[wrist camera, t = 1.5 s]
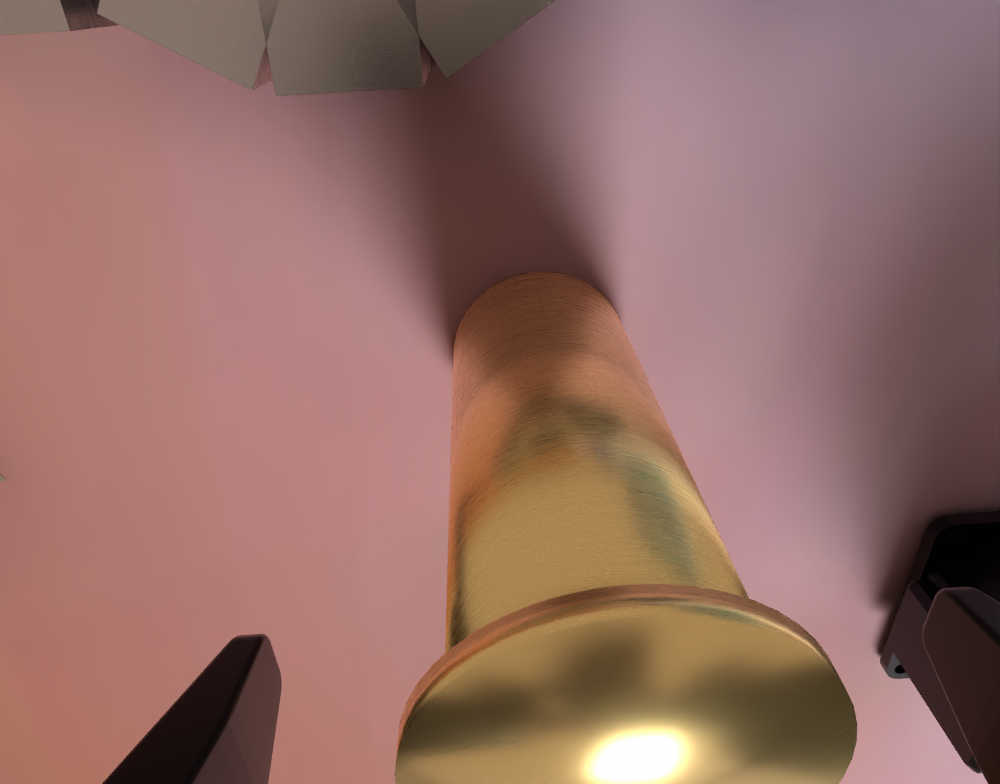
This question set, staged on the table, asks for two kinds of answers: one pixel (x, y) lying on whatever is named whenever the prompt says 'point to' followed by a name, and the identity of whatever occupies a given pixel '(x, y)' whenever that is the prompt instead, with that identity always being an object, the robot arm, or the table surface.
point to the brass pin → (598, 583)
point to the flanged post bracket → (297, 35)
